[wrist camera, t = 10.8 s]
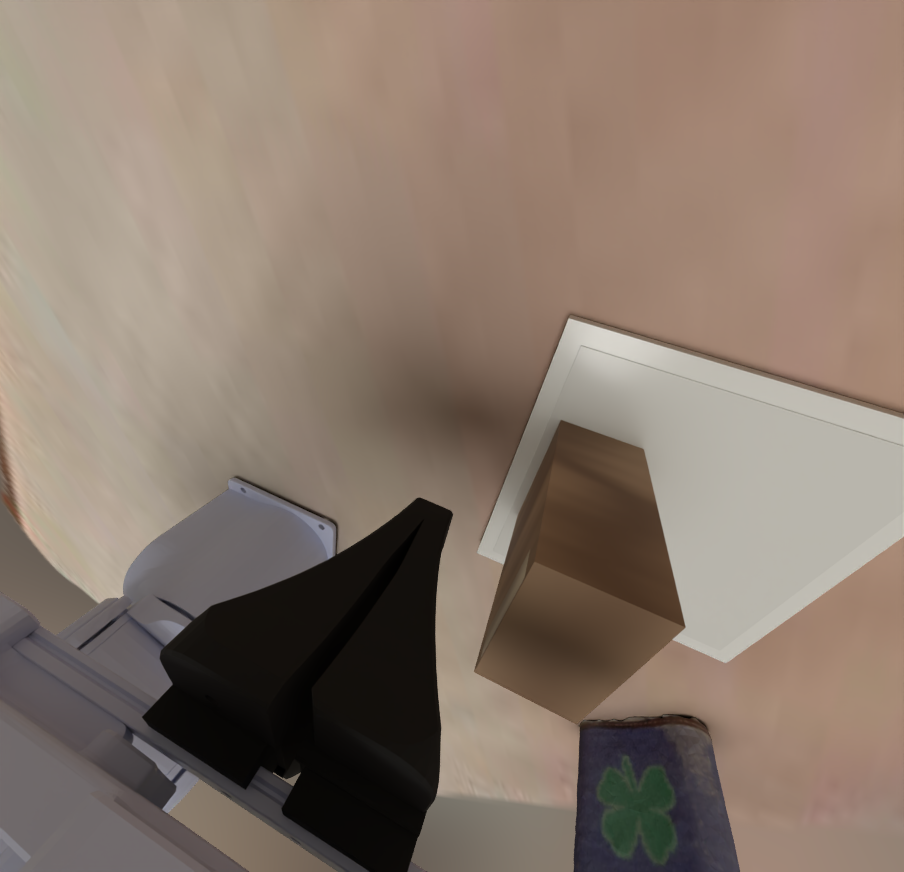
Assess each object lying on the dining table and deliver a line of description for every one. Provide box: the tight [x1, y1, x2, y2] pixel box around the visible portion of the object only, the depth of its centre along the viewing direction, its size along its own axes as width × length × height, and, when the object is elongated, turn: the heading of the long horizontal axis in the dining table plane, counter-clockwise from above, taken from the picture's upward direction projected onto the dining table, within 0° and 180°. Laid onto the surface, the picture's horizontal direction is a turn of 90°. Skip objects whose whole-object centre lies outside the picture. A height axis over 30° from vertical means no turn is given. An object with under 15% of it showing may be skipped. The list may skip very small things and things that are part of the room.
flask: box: [574, 715, 740, 872], centre depth 20 cm, size 9×3×11 cm, turn 136°
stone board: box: [477, 315, 904, 663], centre depth 16 cm, size 14×14×1 cm
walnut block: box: [474, 420, 686, 724], centre depth 13 cm, size 4×6×8 cm, turn 167°
